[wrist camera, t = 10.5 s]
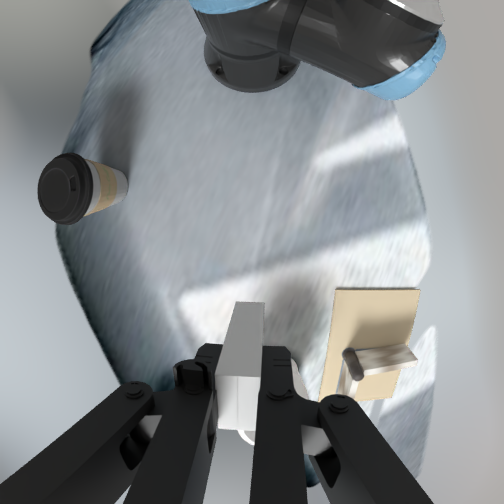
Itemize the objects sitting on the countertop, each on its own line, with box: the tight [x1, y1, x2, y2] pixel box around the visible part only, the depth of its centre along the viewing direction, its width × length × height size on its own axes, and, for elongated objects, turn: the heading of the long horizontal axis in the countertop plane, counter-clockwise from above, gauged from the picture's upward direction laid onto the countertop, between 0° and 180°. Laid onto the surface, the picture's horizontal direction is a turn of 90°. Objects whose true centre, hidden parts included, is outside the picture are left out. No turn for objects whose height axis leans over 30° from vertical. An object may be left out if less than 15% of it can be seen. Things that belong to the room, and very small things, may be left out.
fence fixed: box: [337, 348, 359, 399], centre depth 45 cm, size 14×2×7 cm, turn 179°
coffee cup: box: [38, 153, 128, 225], centre depth 36 cm, size 9×9×15 cm
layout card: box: [318, 289, 420, 402], centre depth 47 cm, size 24×16×1 cm, turn 179°
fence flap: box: [344, 343, 418, 381], centre depth 43 cm, size 12×2×7 cm, turn 95°
